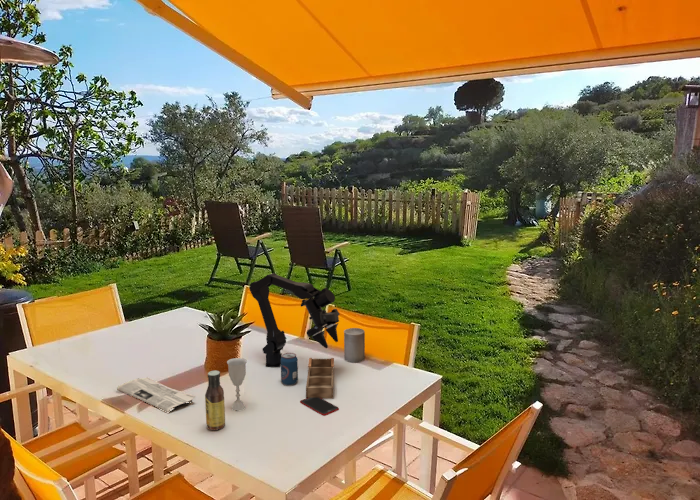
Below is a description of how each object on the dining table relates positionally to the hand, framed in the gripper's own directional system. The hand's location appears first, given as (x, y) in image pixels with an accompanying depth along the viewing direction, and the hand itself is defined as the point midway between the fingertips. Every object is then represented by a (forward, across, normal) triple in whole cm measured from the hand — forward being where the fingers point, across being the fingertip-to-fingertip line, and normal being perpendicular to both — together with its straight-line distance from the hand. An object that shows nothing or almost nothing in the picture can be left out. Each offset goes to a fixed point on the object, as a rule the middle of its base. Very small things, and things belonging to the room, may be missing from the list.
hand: (332, 344), depth 210 cm
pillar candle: (+12, +24, +8) cm, 28 cm away
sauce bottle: (+6, -54, +23) cm, 59 cm away
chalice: (+4, -39, +24) cm, 46 cm away
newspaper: (-13, -45, +54) cm, 72 cm away
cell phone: (+18, -24, +2) cm, 30 cm away
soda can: (+6, -12, +20) cm, 24 cm away
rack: (+12, -6, +10) cm, 16 cm away
